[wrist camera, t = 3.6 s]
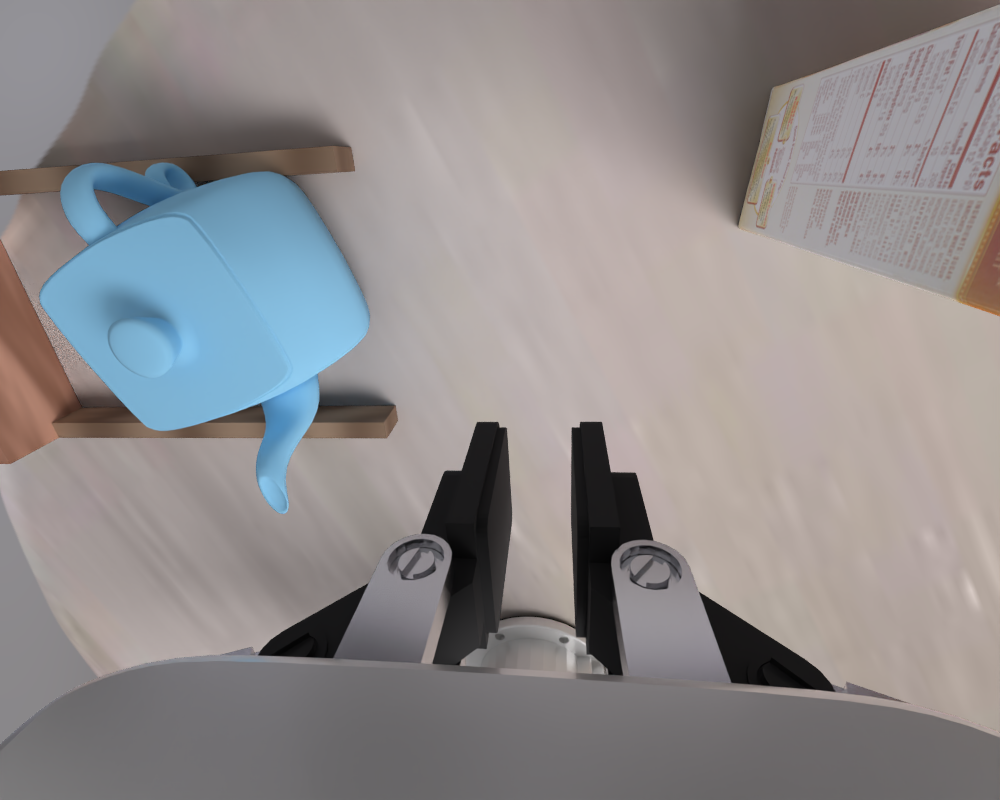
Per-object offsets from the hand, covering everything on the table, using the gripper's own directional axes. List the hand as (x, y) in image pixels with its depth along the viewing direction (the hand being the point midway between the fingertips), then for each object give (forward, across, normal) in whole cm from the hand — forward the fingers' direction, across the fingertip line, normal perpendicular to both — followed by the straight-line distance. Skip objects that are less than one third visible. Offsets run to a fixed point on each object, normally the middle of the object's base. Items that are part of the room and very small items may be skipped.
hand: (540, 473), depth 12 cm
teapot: (+19, +17, 0) cm, 26 cm away
